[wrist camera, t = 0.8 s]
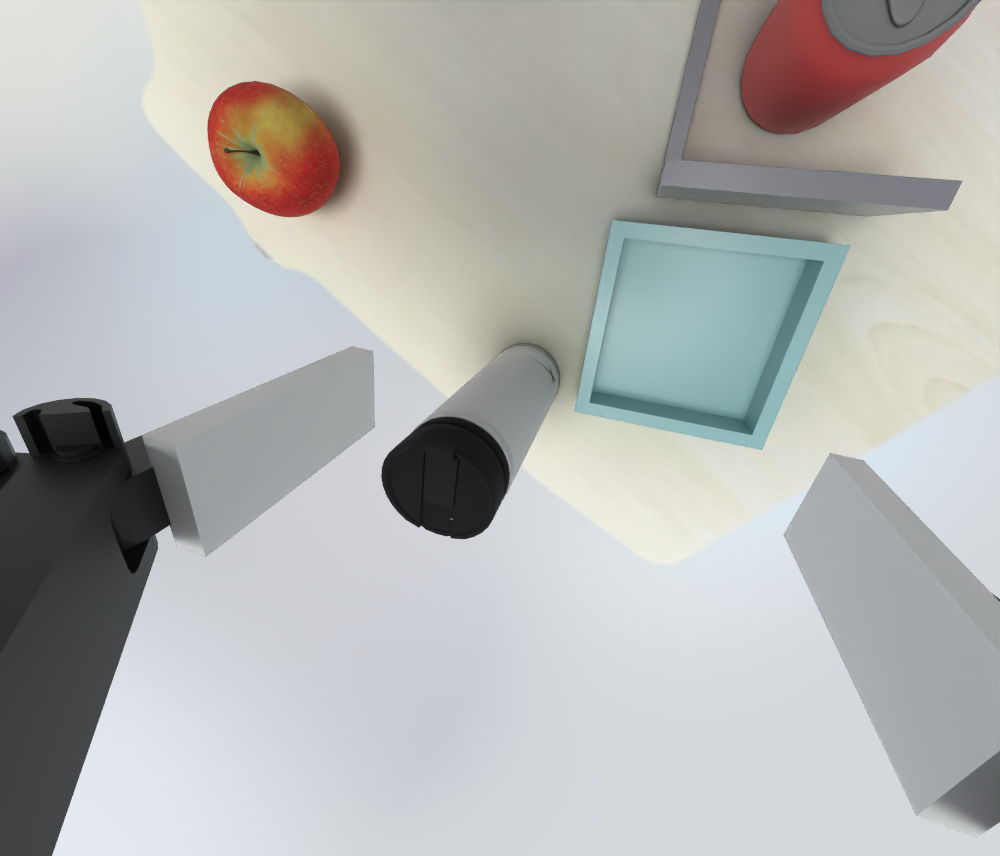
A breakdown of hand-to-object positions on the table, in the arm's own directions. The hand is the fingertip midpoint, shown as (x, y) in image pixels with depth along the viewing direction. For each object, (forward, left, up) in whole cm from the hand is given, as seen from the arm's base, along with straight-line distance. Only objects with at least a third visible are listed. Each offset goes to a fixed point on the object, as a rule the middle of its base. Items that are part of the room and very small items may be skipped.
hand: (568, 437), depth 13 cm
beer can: (-15, +8, -24) cm, 30 cm away
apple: (-8, -26, -24) cm, 37 cm away
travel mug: (+7, -6, -24) cm, 26 cm away
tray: (+1, +6, -24) cm, 25 cm away
